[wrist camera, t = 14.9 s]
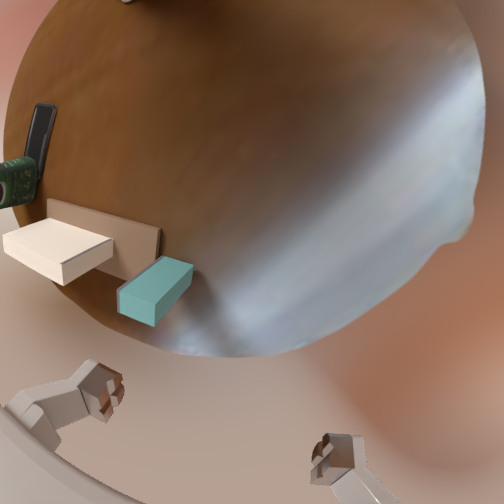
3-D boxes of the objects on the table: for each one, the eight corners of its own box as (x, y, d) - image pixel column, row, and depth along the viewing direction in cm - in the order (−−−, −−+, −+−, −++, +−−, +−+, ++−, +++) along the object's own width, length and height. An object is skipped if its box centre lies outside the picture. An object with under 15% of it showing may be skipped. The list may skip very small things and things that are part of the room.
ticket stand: (51, 246, 44) (4, 269, 32) (50, 198, 40) (-2, 212, 28) (155, 287, 42) (110, 330, 29) (161, 228, 38) (107, 257, 26)
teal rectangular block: (160, 274, 39) (117, 312, 28) (162, 255, 38) (116, 289, 27) (191, 284, 39) (154, 327, 28) (193, 264, 38) (155, 304, 27)
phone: (21, 171, 39) (36, 102, 34) (25, 171, 40) (40, 102, 35) (39, 181, 39) (55, 105, 34) (43, 180, 40) (59, 105, 35)
